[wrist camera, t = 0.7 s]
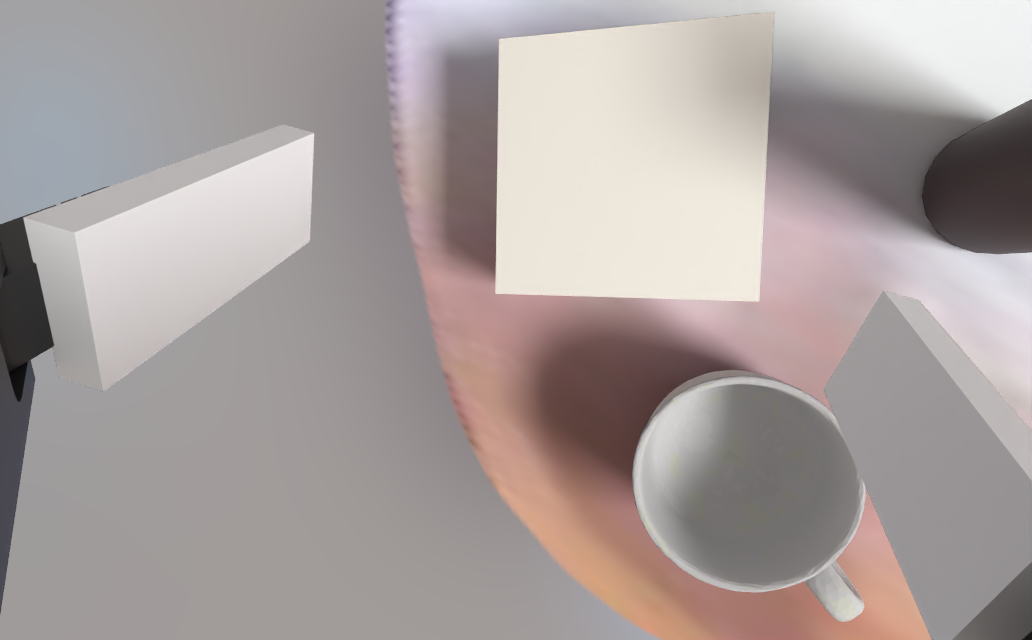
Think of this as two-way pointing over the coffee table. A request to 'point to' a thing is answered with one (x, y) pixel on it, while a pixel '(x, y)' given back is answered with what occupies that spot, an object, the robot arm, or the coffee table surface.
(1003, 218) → the vinegar
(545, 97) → the riser
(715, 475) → the teacup
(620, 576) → the coffee table surface
